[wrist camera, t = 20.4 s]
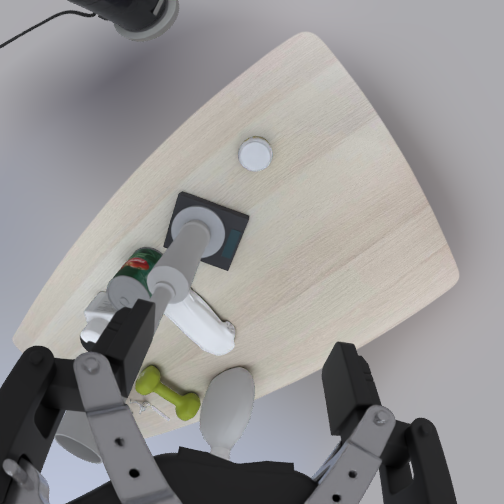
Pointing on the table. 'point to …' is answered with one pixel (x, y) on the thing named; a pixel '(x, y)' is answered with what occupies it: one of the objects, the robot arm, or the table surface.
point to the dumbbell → (167, 393)
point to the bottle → (177, 267)
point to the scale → (219, 223)
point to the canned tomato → (133, 279)
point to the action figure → (152, 408)
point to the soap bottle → (227, 410)
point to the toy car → (202, 324)
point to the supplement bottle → (255, 153)
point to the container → (96, 320)
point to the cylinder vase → (78, 436)
